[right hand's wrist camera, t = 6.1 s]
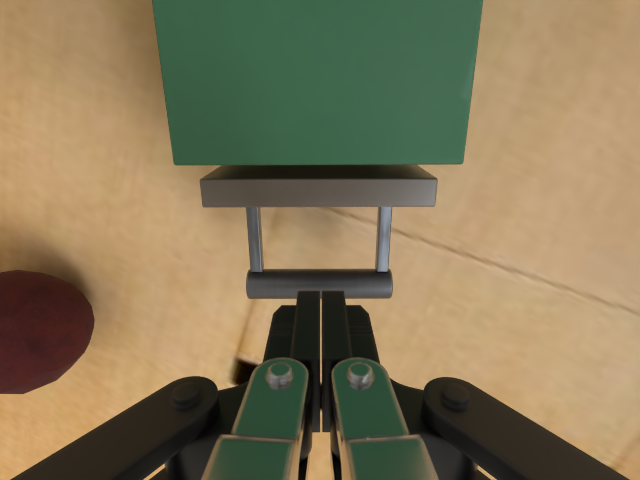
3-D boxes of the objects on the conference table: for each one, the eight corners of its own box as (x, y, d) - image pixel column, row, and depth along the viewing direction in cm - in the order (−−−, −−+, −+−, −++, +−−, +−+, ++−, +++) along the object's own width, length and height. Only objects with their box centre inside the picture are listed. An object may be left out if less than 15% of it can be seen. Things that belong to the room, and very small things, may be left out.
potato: (-20, 262, 25) (-142, 319, 19) (92, 243, 25) (8, 296, 18) (27, 354, 28) (-66, 434, 21) (130, 339, 27) (68, 416, 21)
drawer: (396, 264, 24) (423, 323, 18) (243, 264, 24) (215, 323, 18) (428, -198, 17) (495, -385, 10) (207, -197, 17) (135, -382, 10)
